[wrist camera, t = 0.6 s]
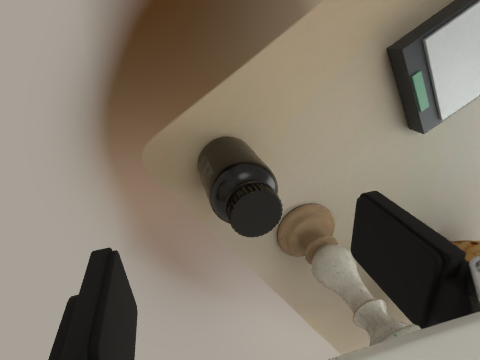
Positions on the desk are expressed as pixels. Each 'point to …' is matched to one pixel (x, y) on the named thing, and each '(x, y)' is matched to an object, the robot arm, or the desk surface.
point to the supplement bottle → (240, 186)
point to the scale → (439, 65)
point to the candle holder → (337, 269)
